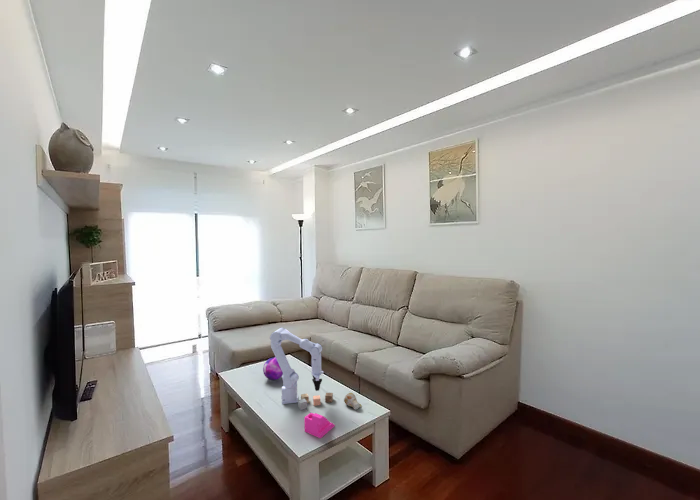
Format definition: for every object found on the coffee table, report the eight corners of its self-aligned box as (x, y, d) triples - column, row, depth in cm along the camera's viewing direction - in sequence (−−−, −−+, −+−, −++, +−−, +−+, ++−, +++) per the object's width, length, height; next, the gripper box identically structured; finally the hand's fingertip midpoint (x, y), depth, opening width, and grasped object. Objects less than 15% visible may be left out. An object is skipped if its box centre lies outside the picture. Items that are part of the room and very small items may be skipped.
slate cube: (300, 410, 185) (300, 403, 185) (298, 406, 188) (298, 400, 188) (307, 408, 187) (306, 401, 187) (304, 404, 190) (304, 398, 190)
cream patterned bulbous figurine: (354, 413, 181) (346, 396, 183) (347, 413, 189) (340, 396, 191) (364, 406, 185) (357, 389, 187) (357, 406, 193) (350, 390, 195)
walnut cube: (325, 402, 193) (325, 395, 193) (326, 398, 197) (326, 392, 197) (331, 402, 192) (331, 396, 192) (332, 399, 196) (332, 392, 196)
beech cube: (302, 404, 191) (302, 397, 191) (300, 400, 195) (300, 394, 195) (308, 402, 192) (308, 396, 192) (307, 399, 196) (307, 393, 196)
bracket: (320, 438, 159) (320, 418, 158) (304, 431, 165) (304, 412, 164) (334, 426, 169) (334, 407, 168) (319, 420, 175) (318, 401, 174)
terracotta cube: (313, 405, 189) (313, 399, 189) (313, 402, 193) (313, 395, 193) (320, 405, 190) (320, 398, 190) (320, 401, 194) (319, 395, 194)
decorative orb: (289, 377, 227) (289, 356, 226) (274, 386, 214) (273, 364, 213) (274, 372, 235) (274, 352, 234) (258, 380, 222) (258, 359, 221)
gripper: (324, 369, 184) (324, 392, 185) (322, 359, 198) (322, 381, 199) (312, 370, 183) (312, 393, 183) (310, 360, 197) (310, 382, 198)
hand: (316, 387), depth 191 cm, fingers open, 7 cm apart
